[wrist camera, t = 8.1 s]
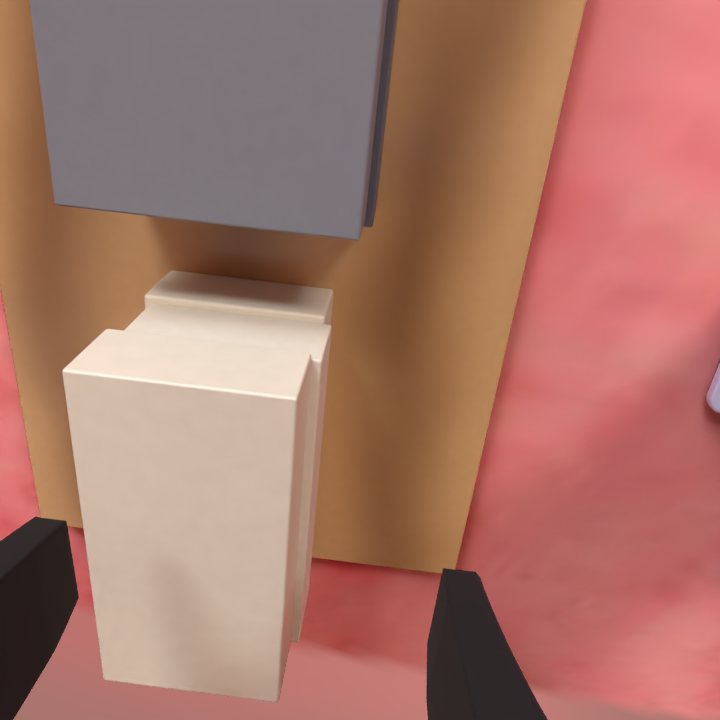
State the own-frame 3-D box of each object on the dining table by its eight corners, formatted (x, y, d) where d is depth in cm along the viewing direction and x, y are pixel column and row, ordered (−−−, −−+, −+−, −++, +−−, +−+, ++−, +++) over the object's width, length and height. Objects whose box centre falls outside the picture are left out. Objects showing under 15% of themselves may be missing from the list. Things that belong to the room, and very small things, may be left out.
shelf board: (645, -310, 13) (665, -342, 12) (452, 553, 25) (454, 576, 24) (-83, -384, 14) (-125, -420, 13) (56, 503, 25) (40, 523, 24)
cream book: (312, 352, 15) (297, 398, 13) (291, 637, 19) (278, 703, 18) (105, 327, 15) (60, 369, 13) (133, 617, 20) (103, 681, 18)
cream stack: (340, 289, 19) (322, 353, 15) (317, 543, 23) (299, 643, 20) (170, 269, 19) (107, 327, 15) (181, 525, 24) (135, 622, 20)
